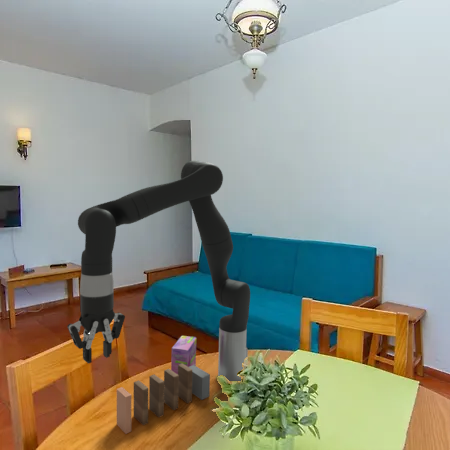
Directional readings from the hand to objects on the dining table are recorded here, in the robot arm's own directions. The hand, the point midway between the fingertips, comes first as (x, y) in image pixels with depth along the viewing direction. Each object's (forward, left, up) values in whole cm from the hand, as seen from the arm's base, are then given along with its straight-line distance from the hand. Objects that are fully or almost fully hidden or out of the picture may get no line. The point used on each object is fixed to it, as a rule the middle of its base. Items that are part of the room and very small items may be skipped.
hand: (97, 358), depth 87 cm
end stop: (-32, 0, -21) cm, 38 cm away
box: (-35, -11, -22) cm, 43 cm away
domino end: (-7, 0, -21) cm, 22 cm away
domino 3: (-22, 0, -21) cm, 31 cm away
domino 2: (-17, 0, -21) cm, 27 cm away
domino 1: (-12, 0, -21) cm, 24 cm away
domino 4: (-27, 0, -21) cm, 34 cm away
